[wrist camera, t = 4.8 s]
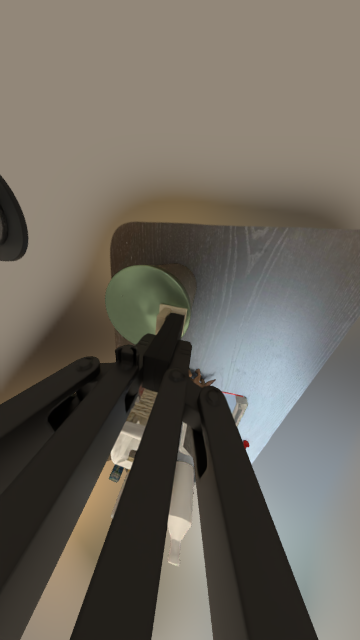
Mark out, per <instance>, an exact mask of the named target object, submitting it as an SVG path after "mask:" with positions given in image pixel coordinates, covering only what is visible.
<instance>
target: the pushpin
mask: <svg viewBox="0 0 360 640" xmlns="http://www.w3.org/2000/svg"><path fill="white" fill-rule="evenodd" d="M243 443H244V447H245V449H246V447H249V443H248V442H247V441H246V440H244V442H243Z"/></svg>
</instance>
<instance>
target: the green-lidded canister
mask: <svg viewBox="0 0 360 640" xmlns="http://www.w3.org/2000/svg"><path fill="white" fill-rule="evenodd" d="M196 290H197V283H196V279H195V276H194V275H193V273H192V272H191V270H190V269H188V268H187V267H186V266H184V265H182V264H177V263H171V264H162V265H134V266H129V267H127V268H124V269H122V270H121V271H119V272H118V273H117V274H116V275H115V276H114V277H113V278H112V279H111V281H110V283H109V285H108V287H107V290H106V296H105V304H106V310H107V313H108V316H109V318H110V320H111V322H112V324H113V326H114V327H115V328H116V330H117V331H118V332H119V333H120V334H121V335H122V336H123V337H124V338H126V339H127V340H128V341H130V342H132V343H133V344H135V345H136V344H137V343H138V342H139V341H140V339H141V338H142V337H143V336H144V335H146V334H147V333H150V334H154V335H155V332H156V319H157V315H158V314H159V308H160V304H166V305H171V306H175V307H180V308H185V309H187V314H186V319H185V324H184V330H183V334H182V336H181V338H182V337H183V336H184V334H185V332H186V331H187V328H188V326H189V322H190V318H191V308H192V305H193V301H194V298H195V294H196Z"/></svg>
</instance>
